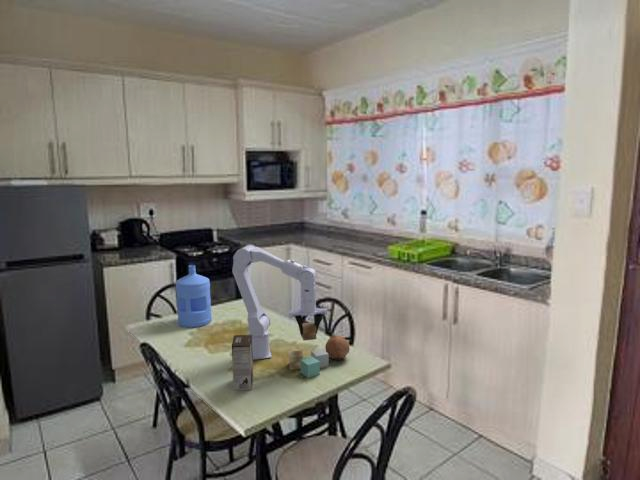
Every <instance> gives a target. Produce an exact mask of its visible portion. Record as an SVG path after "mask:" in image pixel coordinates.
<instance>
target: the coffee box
mask: <svg viewBox="0 0 640 480" xmlns="http://www.w3.org/2000/svg"><path fill="white" fill-rule="evenodd" d="M231 359H232V365H231V366H232V387H233V391H249V390H250V391H251V390H253V383H254V360H253V352H252V335H248V334H236V335H233V339H232V343H231Z"/></svg>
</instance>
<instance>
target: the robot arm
mask: <svg viewBox="0 0 640 480" xmlns="http://www.w3.org/2000/svg"><path fill="white" fill-rule="evenodd" d="M232 259H233V262H232V263H233V264H232V275H233V276H234V280H235V283H236V285H237V287H238V291H239V294H240V295H241V299H242V301H243V303H244V306H245V309H246V311H247V319H246V321H247V324H248V326H247V327H248V328H247V329H248V333H249V334H247V335H252V352H253V361H255V360H261V359H271V358H272V357H273V356H272V353H271V350H270V331H269V327H270V326H271V318H270V317H269V316H268V315H267V313H266V311H265V310H264V309H263V308H262V307H261V305H260V301H259V299H258V297H257V294H256V290H255V289H254V286H253V284H252V280H251V278H250V275H249V273H248V270H249V268H250V267H251V264H253V263H259V262H262V263H265V264H268V265H271V266H273V267H275V268H277V269H278V268H279V270H281V272H282V274H284V275H286V276H288V277H290V278H293V279H295V280H298V281H299V283H300V308H299V309H295V310H289V315H288V316H289V318H291V319H292V318H295V320H296V323H297V325H298V330H299V334H300V336H301V335H303V323H304V319H303V317H310V316H313V320H314V321H313V322H314V324H315V326H316V335H318V331H319V326H320V325H321V322H322V320H323V318H324V317H323V315H325V316H327V315H328V308H326V307H325V308H319V307H317V302H316V299H317V297H316V295H317V294H316V293H317V291H316V289H317V287H316V279H317V275H318V273H317V271H316V269H315V268H314V267H312V266H307V265H305V264H304V265H303V264H300V263H298V262H296V260H295V259H286V260H283V259H282V258H280V257H278V256H277V255H274V254H273V253H270V252H268V251H266V250H264V249H263V248H262V247H259V246H255V245H253V244H246V245H245V246H244V247H242V248H240V249H237V250H236V252H235V253H234V254H233V256H232Z"/></svg>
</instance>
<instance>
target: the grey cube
mask: <svg viewBox="0 0 640 480" xmlns="http://www.w3.org/2000/svg"><path fill="white" fill-rule="evenodd" d="M310 357H314V358H315V359H317V360H318V361H320V369H321V368H326V367H329V366H330V365H329V361H330V359H329V357H330V356H329V354H328V353H327V352H326V349H325V348H321V349H315V350H314V349H313V350H311V351H310Z"/></svg>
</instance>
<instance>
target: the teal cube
mask: <svg viewBox="0 0 640 480" xmlns="http://www.w3.org/2000/svg"><path fill="white" fill-rule="evenodd" d="M320 371H321V368H320V361H318V360H317V359H315V358H314V357H311V356H310V357H305V358H303V359H302V360H301V369H300V373H301V374H303V376H305V377H306V378H307V379H309V378H312V377H315V376H319V375H320Z"/></svg>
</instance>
